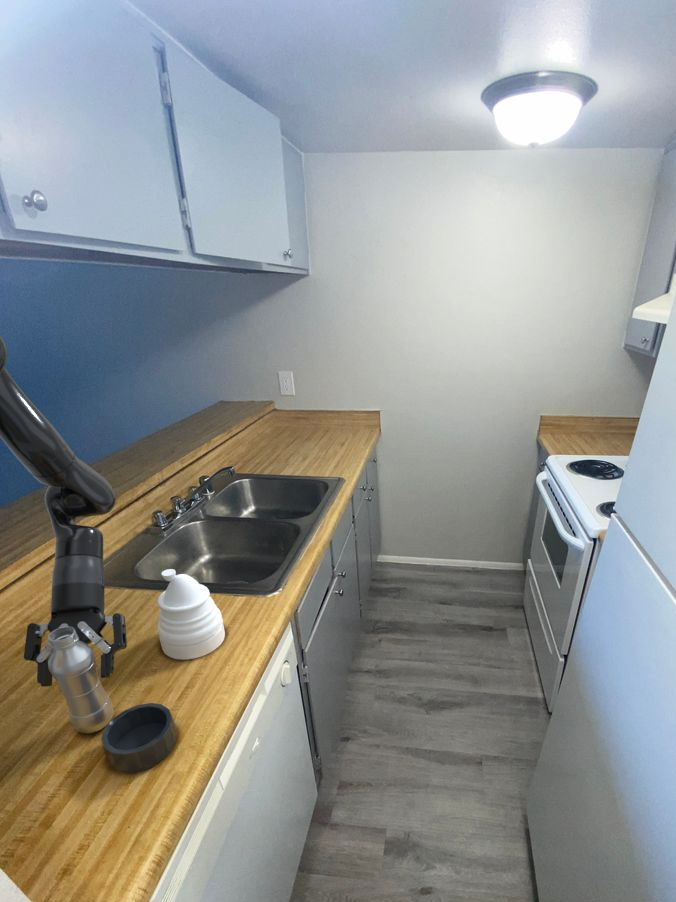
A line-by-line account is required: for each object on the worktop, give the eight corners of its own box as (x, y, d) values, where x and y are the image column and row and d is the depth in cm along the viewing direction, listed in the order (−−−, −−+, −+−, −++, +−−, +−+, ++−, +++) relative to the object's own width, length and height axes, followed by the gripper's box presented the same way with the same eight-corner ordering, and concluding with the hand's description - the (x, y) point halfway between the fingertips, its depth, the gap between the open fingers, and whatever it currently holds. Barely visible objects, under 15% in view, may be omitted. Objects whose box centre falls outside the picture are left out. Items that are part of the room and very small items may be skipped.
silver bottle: (76, 745, 79) (37, 653, 70) (72, 718, 84) (35, 629, 75) (119, 727, 83) (88, 638, 73) (113, 702, 87) (83, 615, 78)
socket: (101, 779, 74) (93, 760, 72) (117, 727, 83) (111, 709, 81) (171, 765, 77) (166, 746, 74) (180, 716, 85) (176, 698, 83)
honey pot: (167, 667, 96) (148, 594, 87) (157, 632, 105) (139, 563, 97) (232, 646, 102) (220, 576, 94) (216, 615, 112) (204, 548, 103)
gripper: (19, 586, 76) (12, 689, 72) (117, 576, 80) (116, 674, 76) (42, 594, 83) (37, 689, 79) (131, 585, 87) (132, 675, 83)
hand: (76, 681), depth 77 cm, fingers open, 8 cm apart
